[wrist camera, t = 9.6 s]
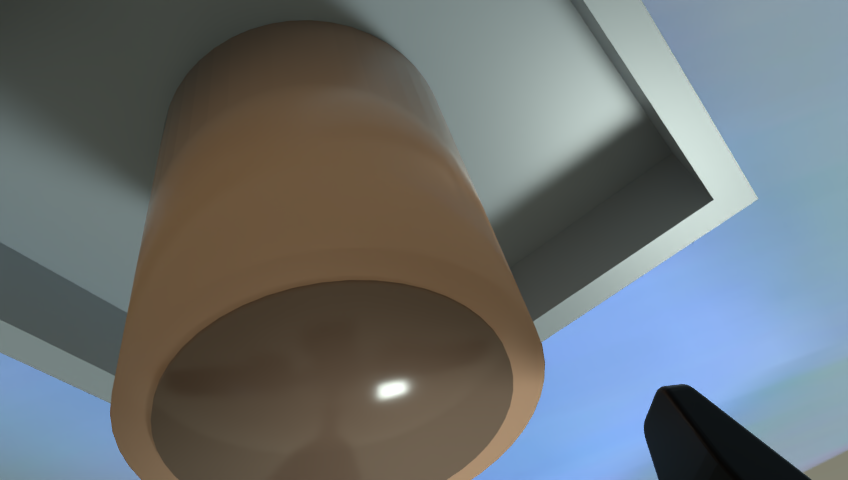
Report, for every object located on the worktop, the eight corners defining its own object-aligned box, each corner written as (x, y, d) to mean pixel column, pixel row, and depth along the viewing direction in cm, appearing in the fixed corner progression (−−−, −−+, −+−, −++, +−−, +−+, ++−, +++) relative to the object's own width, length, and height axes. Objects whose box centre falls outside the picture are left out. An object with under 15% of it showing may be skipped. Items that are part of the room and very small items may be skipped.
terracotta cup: (495, 154, 16) (618, 396, 11) (307, 299, 18) (331, 571, 12) (311, -47, 13) (357, 159, 7) (99, 155, 14) (6, 447, 9)
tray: (693, 132, 18) (757, 198, 16) (303, 410, 22) (309, 495, 20) (313, -480, 10) (331, -527, 8) (-200, 128, 14) (-290, 218, 12)
